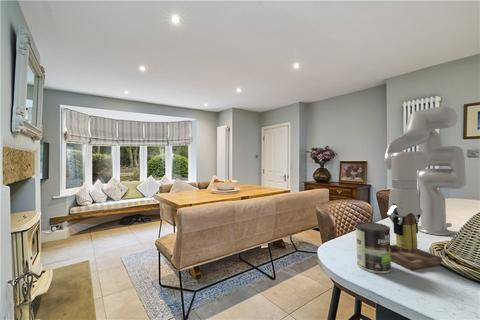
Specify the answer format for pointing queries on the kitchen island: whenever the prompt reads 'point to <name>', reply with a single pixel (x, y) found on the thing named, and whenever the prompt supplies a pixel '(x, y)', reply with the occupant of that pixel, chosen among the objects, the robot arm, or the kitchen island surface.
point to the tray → (414, 258)
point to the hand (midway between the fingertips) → (405, 232)
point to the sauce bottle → (407, 235)
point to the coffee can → (373, 247)
